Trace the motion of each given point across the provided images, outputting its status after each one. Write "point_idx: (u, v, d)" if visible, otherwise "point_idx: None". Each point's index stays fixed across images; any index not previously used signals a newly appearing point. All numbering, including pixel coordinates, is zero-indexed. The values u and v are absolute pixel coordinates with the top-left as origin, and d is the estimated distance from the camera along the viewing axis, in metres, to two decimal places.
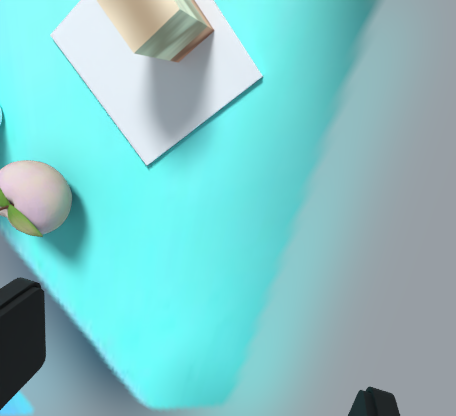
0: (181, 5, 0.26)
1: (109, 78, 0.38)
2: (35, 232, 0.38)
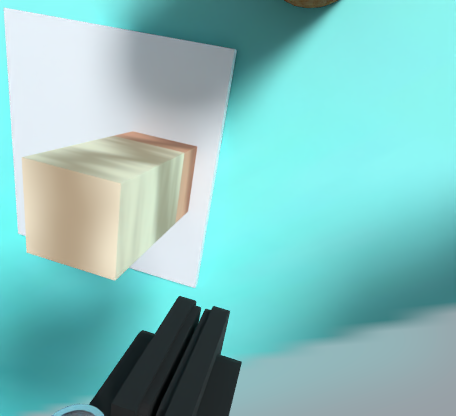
0: (131, 254, 0.17)
1: (41, 127, 0.26)
2: None
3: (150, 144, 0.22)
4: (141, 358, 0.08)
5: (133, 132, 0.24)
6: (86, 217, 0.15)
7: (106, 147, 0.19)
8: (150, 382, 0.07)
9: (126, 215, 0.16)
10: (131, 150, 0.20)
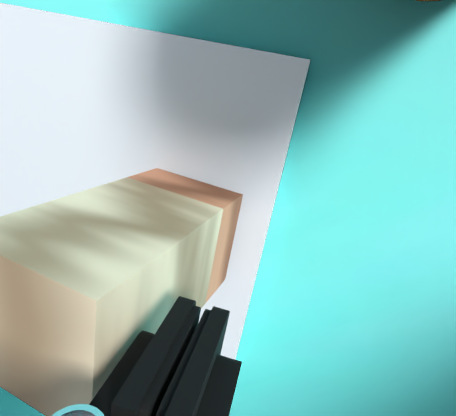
0: None
1: (32, 159, 0.20)
2: None
3: (176, 192, 0.15)
4: (141, 358, 0.08)
5: (157, 170, 0.18)
6: (44, 341, 0.09)
7: (107, 202, 0.13)
8: (151, 382, 0.07)
9: (112, 342, 0.09)
10: (144, 207, 0.13)
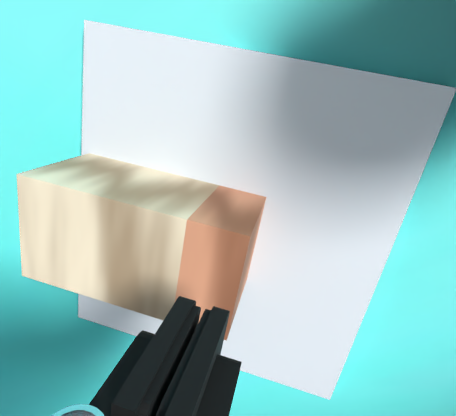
0: (49, 272, 0.15)
1: None
2: None
3: (205, 200, 0.15)
4: (141, 358, 0.08)
5: (260, 197, 0.17)
6: None
7: (156, 178, 0.17)
8: (150, 382, 0.07)
9: (32, 217, 0.15)
10: (157, 188, 0.15)
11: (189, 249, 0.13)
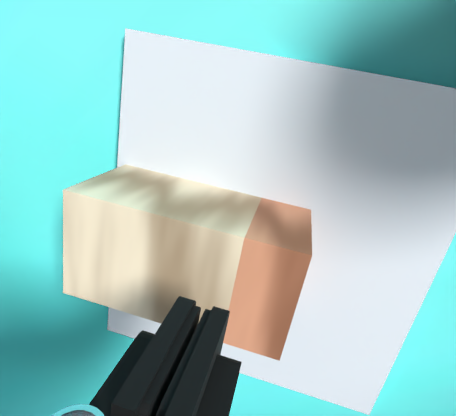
0: (93, 289, 0.15)
1: None
2: None
3: (254, 215, 0.15)
4: (141, 358, 0.08)
5: (305, 209, 0.16)
6: None
7: (198, 191, 0.16)
8: (151, 382, 0.07)
9: (77, 234, 0.14)
10: (203, 202, 0.15)
11: (245, 268, 0.13)
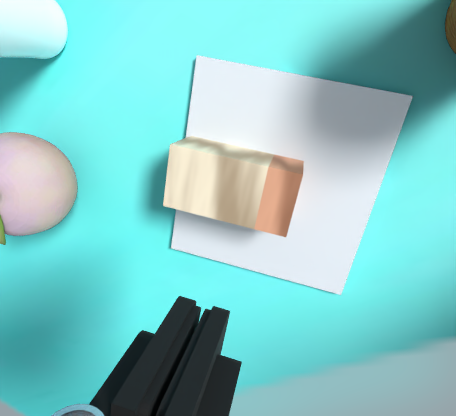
0: (181, 202, 0.26)
1: None
2: (0, 241, 0.28)
3: (271, 160, 0.26)
4: (141, 358, 0.08)
5: (300, 160, 0.28)
6: None
7: (238, 149, 0.28)
8: (151, 382, 0.07)
9: (175, 169, 0.26)
10: (243, 153, 0.27)
11: (268, 183, 0.24)
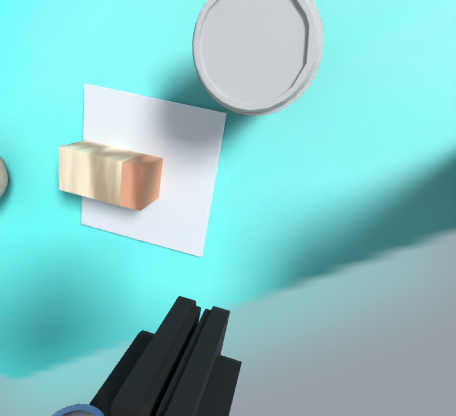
0: (70, 187, 0.38)
1: None
2: None
3: (133, 157, 0.38)
4: (141, 358, 0.08)
5: (160, 158, 0.40)
6: None
7: (115, 150, 0.39)
8: (151, 382, 0.07)
9: (64, 163, 0.37)
10: (114, 153, 0.38)
11: (123, 173, 0.36)
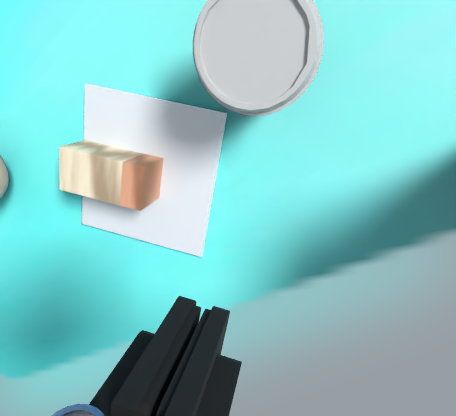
0: (71, 187, 0.38)
1: None
2: None
3: (133, 157, 0.38)
4: (141, 358, 0.08)
5: (160, 158, 0.40)
6: None
7: (115, 150, 0.39)
8: (150, 382, 0.07)
9: (64, 163, 0.37)
10: (114, 153, 0.38)
11: (124, 173, 0.36)
